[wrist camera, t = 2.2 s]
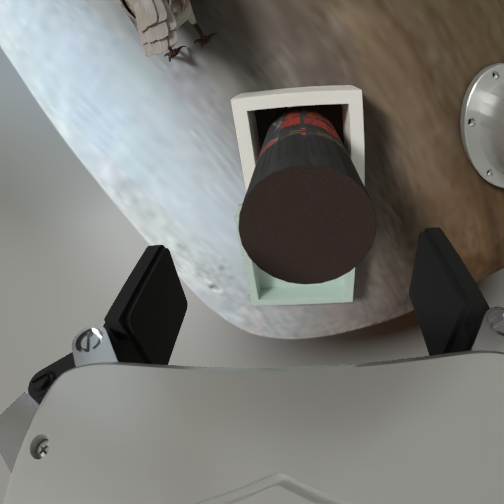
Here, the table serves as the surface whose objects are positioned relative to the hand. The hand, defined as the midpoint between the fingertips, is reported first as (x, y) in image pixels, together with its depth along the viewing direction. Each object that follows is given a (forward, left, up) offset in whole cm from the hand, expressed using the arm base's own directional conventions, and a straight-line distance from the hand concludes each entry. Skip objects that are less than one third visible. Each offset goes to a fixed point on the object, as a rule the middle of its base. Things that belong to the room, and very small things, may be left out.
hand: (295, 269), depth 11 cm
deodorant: (-1, 0, -18) cm, 18 cm away
